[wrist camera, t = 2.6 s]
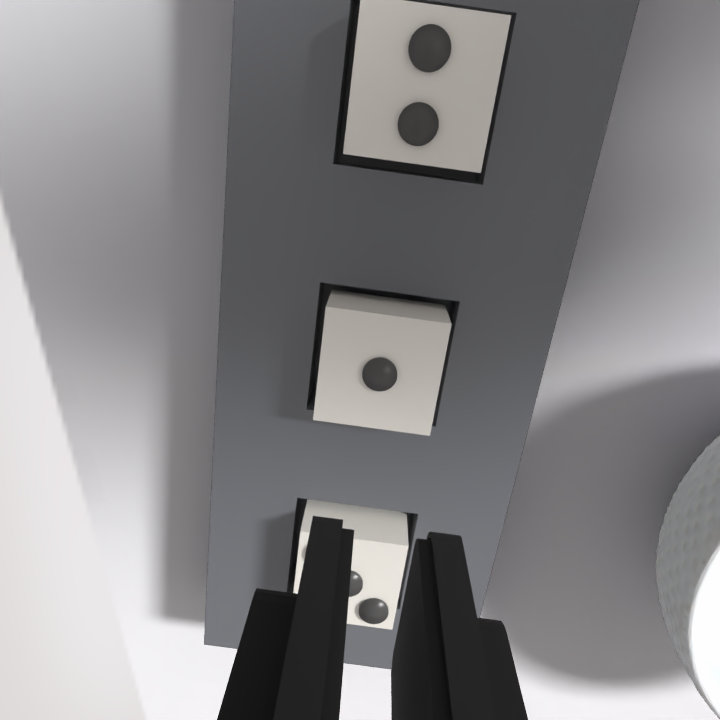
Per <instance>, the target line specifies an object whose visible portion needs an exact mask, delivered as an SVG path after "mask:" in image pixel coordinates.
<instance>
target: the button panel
mask: <svg viewBox="0 0 720 720" xmlns="http://www.w3.org/2000/svg"><path fill="white" fill-rule="evenodd" d="M406 1H413V2H420V3H427V4H434V5H441V6H448V7H455V8H462V9H470V10H477V11H484V12H491V13H498V14H505V15H511V20H510V25H509V30H508V35H507V41H506V46H505V51H504V56H503V61H502V66H501V72H500V77H499V82H498V87H497V92H496V97H495V103H494V108H493V113H492V118H491V123H490V128H489V133H488V139H487V144H486V149H485V154H484V159H483V164H482V170H481V173H477V172H470V171H463V170H456V169H448V168H441V167H434V166H427V165H420V164H412V163H405V162H398V161H391V160H384V159H376V158H369V157H362V156H355V155H348V154H343V150H344V141H345V132H346V123H347V114H348V106H349V97H350V88H351V79H352V70H353V61H354V53H355V44H356V35H357V26H358V17H359V8H360V0H234V21H233V43H232V64H231V85H230V106H229V127H228V148H227V169H226V191H225V212H224V233H223V254H222V275H221V296H220V317H219V339H218V360H217V381H216V402H215V423H214V444H213V465H212V487H211V508H210V529H209V550H208V571H207V592H206V613H205V635H204V644H205V645H212V646H220V647H227V648H235V649H238V647H239V643H240V640H241V636H242V633H243V629H244V626H245V623H246V619H247V616H248V612H249V609H250V605H251V602H252V599H253V596H254V593H255V590H256V589H257V588H259V589H266V590H274V591H281V592H289V593H293V592H294V583H295V574H296V565H297V556H298V547H299V539H300V531H301V526H302V521H303V517H304V512H305V508H306V503H307V499H311V500H318V501H326V502H333V503H341V504H348V505H355V506H363V507H370V508H378V509H385V510H392V511H400V512H407V526H408V544H409V547H408V552H407V557H406V562H405V567H404V572H403V578H402V583H401V588H400V593H399V598H398V603H397V609H396V614H395V619H394V624H393V629H392V630H391V629H383V628H376V627H368V626H361V625H353V624H347V626H346V638H345V650H344V663H347V664H355V665H362V666H370V667H377V668H385V669H392V658H393V651H394V646H395V641H396V636H397V631H398V626H399V621H400V616H401V611H402V606H403V601H404V596H405V591H406V586H407V581H408V575H409V570H410V565H411V560H412V555H413V550H414V545H415V541H416V539H417V538H419V539H427V535H428V533H429V532H430V531H431V532H438V533H446V534H453V535H460V536H461V537H462V541H463V546H464V551H465V557H466V562H467V567H468V572H469V577H470V583H471V588H472V593H473V598H474V603H475V609H476V614H477V618H480V614H481V610H482V606H483V602H484V598H485V594H486V591H487V587H488V583H489V579H490V575H491V571H492V567H493V564H494V560H495V556H496V552H497V548H498V544H499V540H500V537H501V533H502V529H503V525H504V521H505V517H506V513H507V510H508V506H509V502H510V498H511V494H512V490H513V486H514V483H515V479H516V475H517V471H518V467H519V463H520V459H521V456H522V452H523V448H524V444H525V440H526V436H527V432H528V429H529V425H530V421H531V417H532V413H533V409H534V405H535V402H536V398H537V394H538V390H539V386H540V382H541V378H542V375H543V371H544V367H545V363H546V359H547V355H548V351H549V347H550V344H551V340H552V336H553V332H554V328H555V324H556V320H557V317H558V313H559V309H560V305H561V301H562V297H563V293H564V290H565V286H566V282H567V278H568V274H569V270H570V266H571V263H572V259H573V255H574V251H575V247H576V243H577V239H578V236H579V232H580V228H581V224H582V220H583V216H584V212H585V209H586V205H587V201H588V197H589V193H590V189H591V185H592V182H593V178H594V174H595V170H596V166H597V162H598V158H599V155H600V151H601V147H602V143H603V139H604V135H605V131H606V128H607V124H608V120H609V116H610V112H611V108H612V104H613V101H614V97H615V93H616V89H617V85H618V81H619V77H620V73H621V70H622V66H623V62H624V58H625V54H626V50H627V46H628V43H629V39H630V35H631V31H632V27H633V23H634V19H635V16H636V12H637V8H638V4H639V0H406ZM332 290H340V291H347V292H354V293H361V294H369V295H376V296H383V297H391V298H398V299H405V300H412V301H420V302H427V303H434V304H442V305H445V307H446V310H447V312H448V315H449V318H450V321H451V323H452V325H451V330H450V335H449V340H448V345H447V350H446V356H445V361H444V366H443V371H442V376H441V381H440V387H439V392H438V397H437V402H436V407H435V412H434V418H433V423H432V428H431V433H430V436H427V435H420V434H412V433H405V432H398V431H390V430H383V429H375V428H368V427H361V426H353V425H346V424H339V423H331V422H324V421H317V420H313V415H314V406H315V397H316V388H317V380H318V371H319V362H320V353H321V344H322V335H323V326H324V318H325V309H326V305H327V302H328V299H329V296H330V294H331V291H332Z"/></svg>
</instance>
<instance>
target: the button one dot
mask: <svg viewBox="0 0 720 720" xmlns="http://www.w3.org/2000/svg"><path fill="white" fill-rule="evenodd" d="M451 325H452V323H451V321H450V318H449V315H448V312H447V310H446V307H445V305H442V304H434V303H427V302H420V301H412V300H405V299H398V298H391V297H383V296H376V295H369V294H361V293H354V292H347V291H340V290H332V291H331V294H330V296H329V299H328V302H327V305H326V309H325V318H324V326H323V335H322V344H321V353H320V362H319V371H318V380H317V388H316V397H315V406H314V415H313V420H317V421H324V422H331V423H339V424H346V425H353V426H361V427H368V428H375V429H383V430H390V431H398V432H405V433H412V434H420V435H427V436H430V433H431V428H432V423H433V418H434V412H435V407H436V402H437V397H438V392H439V387H440V381H441V376H442V371H443V366H444V361H445V356H446V350H447V345H448V340H449V335H450V330H451Z"/></svg>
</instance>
